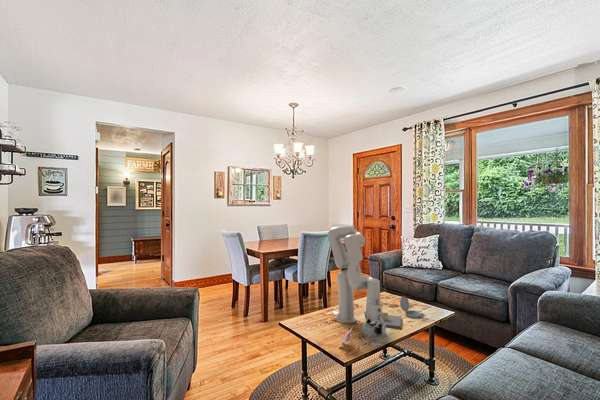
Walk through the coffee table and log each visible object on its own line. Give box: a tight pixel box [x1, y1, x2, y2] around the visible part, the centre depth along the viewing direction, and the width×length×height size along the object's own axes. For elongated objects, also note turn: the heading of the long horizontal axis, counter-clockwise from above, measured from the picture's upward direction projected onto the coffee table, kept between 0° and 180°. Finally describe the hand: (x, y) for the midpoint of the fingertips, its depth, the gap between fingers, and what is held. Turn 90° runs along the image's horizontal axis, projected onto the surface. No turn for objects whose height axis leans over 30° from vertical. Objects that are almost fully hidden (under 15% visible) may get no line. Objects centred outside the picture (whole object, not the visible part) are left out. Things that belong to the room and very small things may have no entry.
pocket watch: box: [399, 295, 425, 319], centre depth 192 cm, size 10×11×15 cm
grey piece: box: [370, 310, 402, 330], centre depth 182 cm, size 20×16×6 cm
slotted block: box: [361, 321, 387, 339], centre depth 166 cm, size 11×7×5 cm, turn 114°
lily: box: [338, 326, 356, 347], centre depth 152 cm, size 12×12×10 cm
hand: (374, 330), depth 166 cm, fingers open, 8 cm apart
